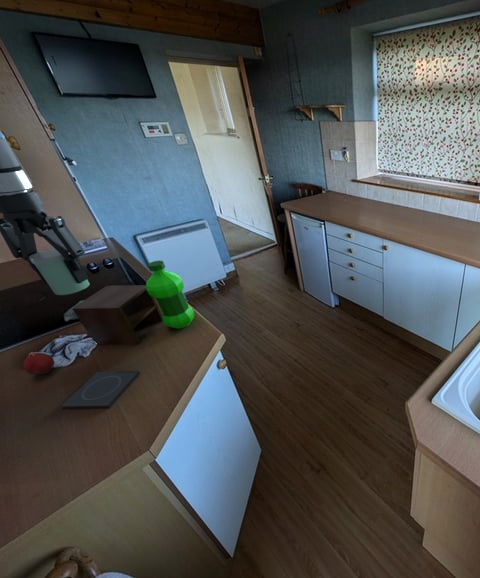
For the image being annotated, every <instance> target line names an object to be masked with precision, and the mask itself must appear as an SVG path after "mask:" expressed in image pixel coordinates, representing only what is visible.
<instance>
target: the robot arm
mask: <svg viewBox="0 0 480 578" xmlns="http://www.w3.org/2000/svg"><path fill="white" fill-rule="evenodd" d="M33 188H34V186H33V184H32V182H31V181H30V179H29V177H28V176H27V174H26V172H25V171H24V169H23V168H22V166H21V164H20V163H19V161H18V159H17V158H16V156H15V153H14V152H13V150H12V148H11V147H10V145H9V143H8V141H7V139H6V136H5V134H3V132H2V131H1V130H0V214H2V216H0V234H1V236H2V238H3V240H4V242H5V243H6V245H7V247H8V249H9V251H10V252H11V254H12V256H13V257H14V258H15V259H23V260H24V261H26V262H27V263H28V264H29V266H30V267H31V269H32V270H33V271H34V272H36V274H37V275H38V277H39V278H40V279H41V281H42V282H43V284H44V285H48V283H47V282H46V281H45V279H44V278H43V276H42V275H41V273H40V272H39V270H38V269H37V267H36V266H35V264H33V263H32V262H31V260H30V259H29V257H30V256H31V255H33V254H35V253H37V252H38V248H37V244H36V238H35V234H36V235H37V236H38V237H39V238H43V239H44V240H45V241H46V242H47V243H48V244H49V245H51V247H52V248H55V249H56V250H57V251H58V252H59V253H60V254H61V255H62V256H63V257H64V258H66V259H65V260H64V263H65V265H66V266H67V268H68V269H69V271H70V273H71V274H72V276H73V278H74V279H75V281H76V282H77V283H82V282H83V281H85V280H89V276H88V274H87V273H86V272H85V270H84V269H85V266H84V264H83V263H82V261H81V259H80V258H79V257H80V256H82V255H84V254H85V253H86V252H85V250H84V248H83V247H82V246H81V244H80V243H79V242H78V240H77V238H76V237H75V236H74V234H73V233H72V232H71V231H70V229H69V227H68V226H67V224H66V221H65V219H64V217H63V216H62V215H57V216H51V215H49V214H48V213H47V212H46V211H44V209H43V207H44V203H43V201H42V199H41V197H40V196H39V194H38V192H37V191H36V190H34V189H33ZM69 253H70V254H69Z"/></svg>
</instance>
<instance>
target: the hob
mask: <svg viewBox="0 0 480 578" xmlns="http://www.w3.org/2000/svg"><path fill="white" fill-rule="evenodd" d="M140 374H141V372H140V371H139V370H127V371H126V370H125V371H123V370H121V371H119V370H117V371H97V372H95V373H94V374H93V375H92V376H91V377H90V378H89V379H88V380H87V381H85V383H84V384H83V385H82V386H80V387H79V389H77V390H76V391H75V392H74V393H73V394H72V395H71V396H70V397H68V399H67V400H66V401H65V402H64V403H62V405H60V408H61V409H62V410H75V409H76V410H79V409H83V410H84V409H111V407H112V405H114V403H115V402H116V401H117V400H119V398H120V397H121V396H122V394H123V393H124V392H125V391H126V390H127V389H128V387H130V385H132V383H133V382H134V381H135V380H136V379H137V378H138V377H139V376H140Z"/></svg>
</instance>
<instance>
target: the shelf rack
mask: <svg viewBox="0 0 480 578" xmlns="http://www.w3.org/2000/svg"><path fill="white" fill-rule="evenodd" d="M83 300H84V301H83ZM83 300H82V301H83V302H81V303H80V304H78V303H77V304H78V305H77V306H75V305H74V306H75V307H74V306H73V307H74V308H72V307H71V308H72V309H73V311H74V312H75V314H76V315H77V317H78V318H79V319H78V320H79V321H80V324H81V325H82V326H83V327H84V329H85V331H86V333H88V335H89V336H90V338H91V340H92V341H93V342H94V341H95V342H96V343H97V344H98V345H97V346H119V345H125V346H127V345H140V344H141V343H142V341H141V340H140V338H139V337H138V335H137V333H136V331H135V328H136V327H137V326H138V325H139V324H140V323H141V322H163V318H162V314H163V313H162V311H161V308H160V306H159V304H158V302H157V300H156V298H154V297H151V296H150V295H149V294H148V292H147V288H146V284H142V285H141V284H140V285H139V284H138V285H137V284H135V285H133V284H132V285H131V284H129V285H123V284H122V285H120V284H119V285H105V286H104V287H103V288H101V289H99V290H98V291H96V292H95V293H93V294H92V295H90V296H88V297H87V298H85V299H83ZM95 342H94V343H95Z"/></svg>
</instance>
